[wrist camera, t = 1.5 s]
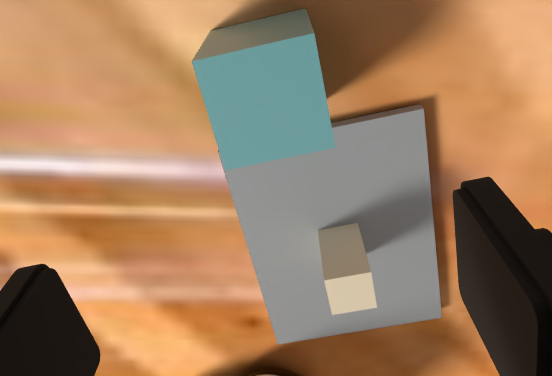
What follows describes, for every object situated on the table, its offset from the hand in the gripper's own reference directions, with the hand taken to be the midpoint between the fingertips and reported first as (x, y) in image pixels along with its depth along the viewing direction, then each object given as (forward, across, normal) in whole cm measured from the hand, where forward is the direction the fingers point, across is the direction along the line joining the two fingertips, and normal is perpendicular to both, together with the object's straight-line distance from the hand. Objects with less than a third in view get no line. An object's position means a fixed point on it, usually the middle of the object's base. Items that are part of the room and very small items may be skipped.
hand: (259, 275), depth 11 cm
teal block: (+18, 0, 0) cm, 18 cm away
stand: (+18, -2, +12) cm, 22 cm away
